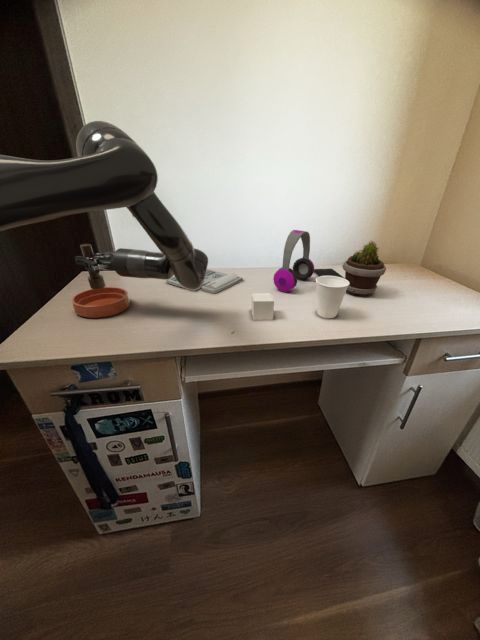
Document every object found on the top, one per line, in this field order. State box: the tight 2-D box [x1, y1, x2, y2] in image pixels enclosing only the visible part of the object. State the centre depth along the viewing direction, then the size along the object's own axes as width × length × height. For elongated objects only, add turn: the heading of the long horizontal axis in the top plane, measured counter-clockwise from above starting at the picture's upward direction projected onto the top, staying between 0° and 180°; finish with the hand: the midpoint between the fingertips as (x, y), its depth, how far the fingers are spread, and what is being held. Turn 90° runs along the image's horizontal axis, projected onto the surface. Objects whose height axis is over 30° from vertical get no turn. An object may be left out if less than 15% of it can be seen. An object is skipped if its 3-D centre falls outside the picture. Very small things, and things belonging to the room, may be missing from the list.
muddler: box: [79, 243, 107, 289], centre depth 81 cm, size 4×4×12 cm
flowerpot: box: [341, 239, 387, 298], centre depth 101 cm, size 14×15×20 cm
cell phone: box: [313, 268, 345, 279], centre depth 119 cm, size 9×18×1 cm, turn 12°
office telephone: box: [165, 268, 243, 294], centre depth 109 cm, size 23×3×20 cm
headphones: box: [272, 229, 315, 293], centre depth 105 cm, size 21×9×20 cm, turn 148°
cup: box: [315, 276, 350, 319], centre depth 86 cm, size 10×10×11 cm
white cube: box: [251, 292, 275, 321], centre depth 86 cm, size 6×6×6 cm
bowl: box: [70, 286, 131, 319], centre depth 86 cm, size 15×15×4 cm
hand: (80, 258), depth 80 cm, fingers closed on muddler, 2 cm apart
